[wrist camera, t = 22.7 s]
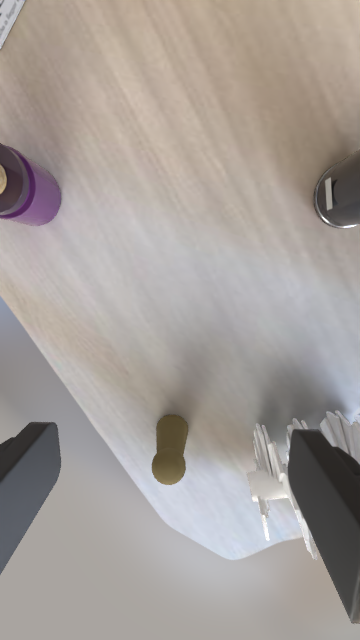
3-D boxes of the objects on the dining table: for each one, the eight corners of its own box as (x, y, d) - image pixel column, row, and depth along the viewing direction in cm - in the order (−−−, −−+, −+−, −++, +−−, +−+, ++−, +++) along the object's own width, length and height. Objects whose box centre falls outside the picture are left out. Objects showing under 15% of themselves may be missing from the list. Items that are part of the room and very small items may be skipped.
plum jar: (24, 151, 40) (-23, 118, 31) (72, 192, 41) (39, 172, 32) (-7, 199, 42) (-60, 182, 33) (40, 237, 43) (1, 231, 34)
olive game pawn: (151, 435, 50) (140, 482, 39) (164, 409, 49) (157, 450, 38) (179, 447, 50) (177, 498, 39) (193, 422, 49) (195, 467, 38)
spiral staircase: (235, 418, 53) (366, 397, 50) (256, 518, 49) (401, 501, 46) (239, 439, 35) (443, 408, 32) (273, 597, 31) (511, 580, 28)
